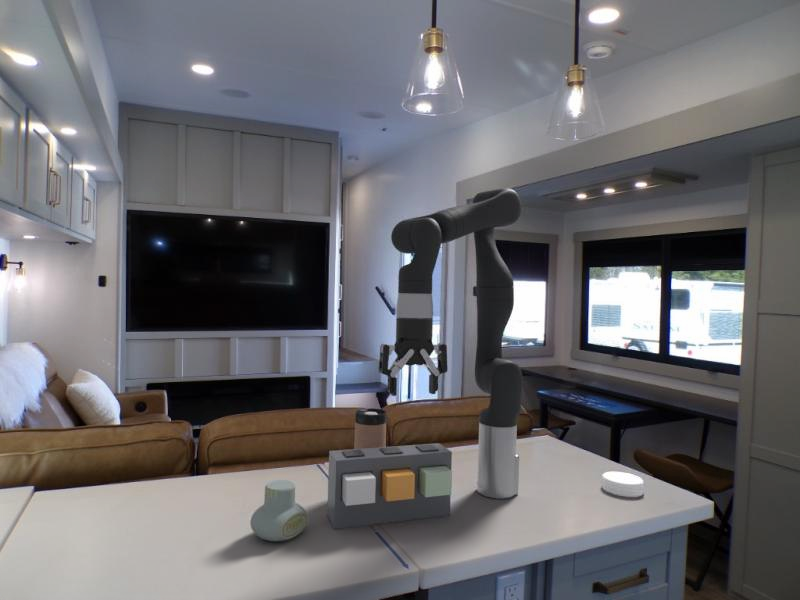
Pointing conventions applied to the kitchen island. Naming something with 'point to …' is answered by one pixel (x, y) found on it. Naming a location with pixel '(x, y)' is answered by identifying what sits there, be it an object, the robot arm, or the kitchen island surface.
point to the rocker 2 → (434, 480)
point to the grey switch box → (375, 463)
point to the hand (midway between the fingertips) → (412, 394)
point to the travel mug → (370, 429)
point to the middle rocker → (397, 484)
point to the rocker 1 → (358, 488)
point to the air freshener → (279, 513)
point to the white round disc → (622, 484)
